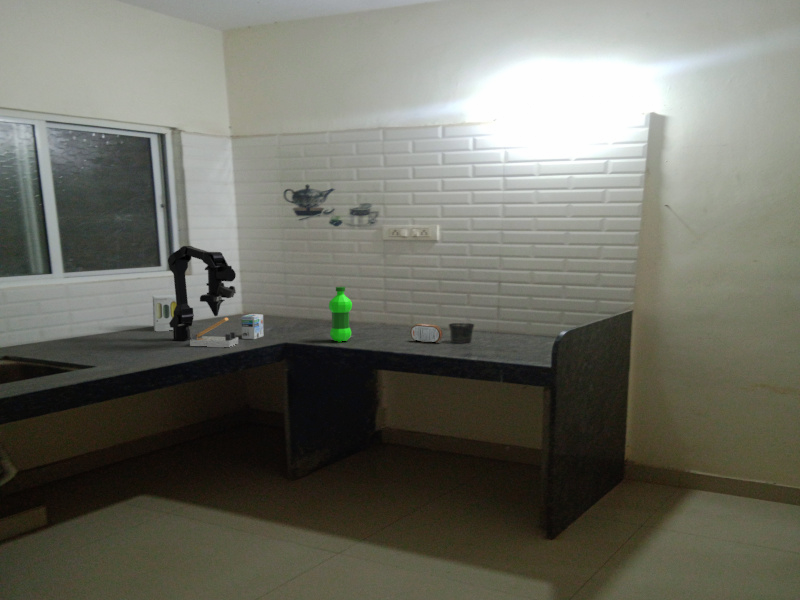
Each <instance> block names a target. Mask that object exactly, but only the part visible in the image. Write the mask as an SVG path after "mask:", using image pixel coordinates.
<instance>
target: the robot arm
mask: <svg viewBox="0 0 800 600" xmlns="http://www.w3.org/2000/svg"><path fill="white" fill-rule="evenodd" d="M192 258H195V259H197V260H201V261H202V262H203V263H204V264H205V265H206V267H205V268H204V271H207V283H206V286H208V290H207V291H208V292H206V294H202V295H200V296H199V302H204V303H205V302H206V303H207V305H208V306H209V308H210V311H211V312H212V314H213V315H214V317H218V316H219V312H220V308H221V306H222V303H224V302H225V300H226V299H231V298H234V296H235V294H236V293H237V292H236V287H235V286H234V285H230V286H229V287H228V286H225V283H224V282H227V283H228V282H230V283H231V282H233V281H234V280H235V279H236V275H237V274H236V271H235V270H234V269H233V267H232V265H228V262H227V261H226V259H225V257H224V255H223V253H222V252H220V251H207V250H204V249H200V248H197V247H194V246H192V245H183V246H181V247H180V248H179V249H177V250H176V251H174V252H173V253H171V254H170V255H169V257H168V258H167V263H168V268H169V270H170V272H171V273H172V274H173V282H174V295H175V294H176V307H175V310H174V317H173V318H172V320H171V321H170V323H169V324H170V327H171V328H173V331H172V332H173V334H172V335H173V338H172V339H171V341H178V342H181V341H182V342H186V341H188V340H189V341H190V340H191V339H192V337H191V330H190V327H192V326H193V322H194V317H195V315H194V308H193V307H190V305H189V302H188V292H187V282H186V272H187V270H188V268H189V262H190V261H191V260H192ZM223 298H224V299H223ZM225 298H226V299H225ZM180 324H181V325H180Z"/></svg>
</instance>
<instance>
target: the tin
mask: <svg viewBox="0 0 800 600" xmlns="http://www.w3.org/2000/svg"><path fill="white" fill-rule="evenodd" d="M409 334H410V337H411V339H412V340H413V341H414V340H419V341H432V342H436V343H438V341H439V342H440V341H441V340H442V338H443V330H442V329H441V327H440V326H439V325H436V324H430V323H416V324H415V325H413V326H412V327H411V329H410V333H409Z"/></svg>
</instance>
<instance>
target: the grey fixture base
mask: <svg viewBox="0 0 800 600" xmlns="http://www.w3.org/2000/svg"><path fill="white" fill-rule="evenodd" d="M200 332H201V331H200ZM200 332H199V331H198V332H197V333H196V334H195V333H193V334H192V335H191V339H189V346H207V347H206V348H224V347H230V346H232V347H234V346H236V345H235V344H237V345H239V336H236V332H234V331H230V332H229V333H225V336H211V335H209V336H205V335H202V336H200V337H198V338H197V334H199V333H200ZM233 345H234V346H233ZM230 348H231V347H230Z"/></svg>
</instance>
